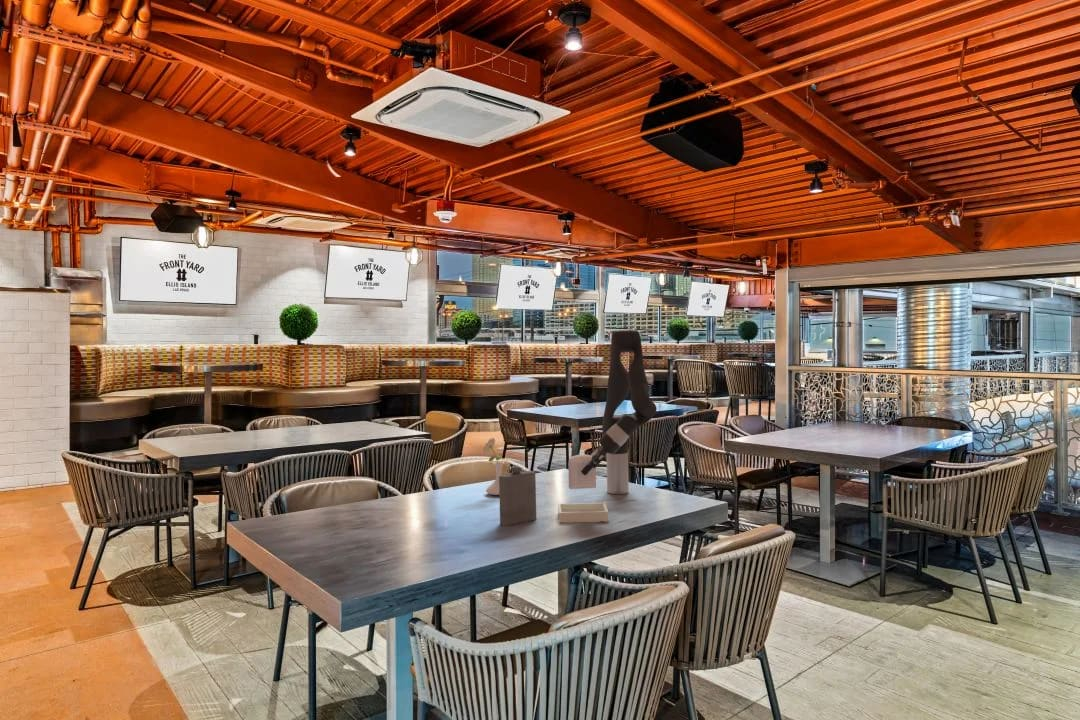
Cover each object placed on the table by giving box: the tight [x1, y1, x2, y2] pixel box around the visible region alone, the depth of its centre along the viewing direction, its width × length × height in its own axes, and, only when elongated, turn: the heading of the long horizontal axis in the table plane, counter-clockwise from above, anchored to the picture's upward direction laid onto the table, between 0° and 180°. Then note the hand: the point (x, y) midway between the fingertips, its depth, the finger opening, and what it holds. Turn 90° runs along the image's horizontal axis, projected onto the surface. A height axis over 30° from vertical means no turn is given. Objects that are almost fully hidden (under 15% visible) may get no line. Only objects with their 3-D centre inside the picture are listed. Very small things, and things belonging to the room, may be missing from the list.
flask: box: [498, 465, 537, 527], centre depth 239 cm, size 15×6×20 cm, turn 126°
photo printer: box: [568, 454, 597, 490], centre depth 242 cm, size 10×4×12 cm, turn 98°
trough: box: [557, 502, 609, 523], centre depth 243 cm, size 14×18×4 cm
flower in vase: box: [482, 437, 505, 496], centre depth 283 cm, size 13×11×25 cm
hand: (582, 472), depth 243 cm, fingers closed on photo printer, 4 cm apart
